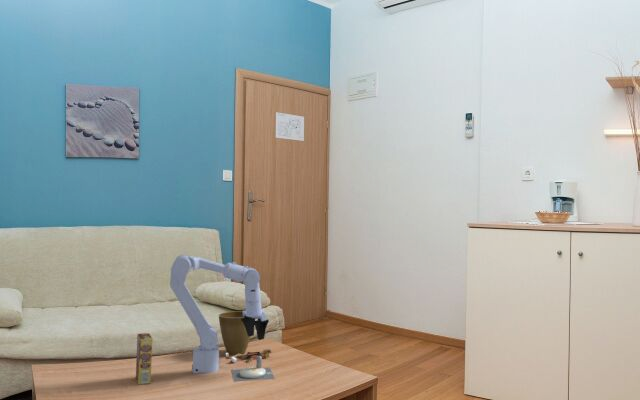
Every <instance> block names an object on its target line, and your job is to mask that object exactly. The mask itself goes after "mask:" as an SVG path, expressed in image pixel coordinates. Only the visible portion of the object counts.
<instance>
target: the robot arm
mask: <svg viewBox="0 0 640 400" xmlns="http://www.w3.org/2000/svg"><path fill="white" fill-rule="evenodd" d="M200 269H203V270H207V271H211V272H212V271H213V272H217V273H221V274H222V275H223V277H224V278H225V279H228V280H233V281H236V282H240V283H242V282H244V298H245V310H242V312H243V316H245V317H244V318H241V321H242V322H243V324H244V326H245V328H246V331H247V334H248V336H249V337H250V336H251V337H252V336H255V330H256V336H257V339H258V341H261V340H264V339H265V336H266V330H267V327H268V324H269V321H270V320H269V319H268V318H267V314H265V311H264V310H262V308H263V307H262V298H261V297H262V296H261V287H260V285H261V284H260V280H261V276H260V273H259V272H258V271H257V270H256V269H255V268H254V267H249V266H248V265H246V266H243V265H239V264H237V262H235V261H232V262H227V263H226V264H223V263H220V262H216V261H214V260H209V259H207V258H203V257H199V256H197V255H196V256H195V255H190V256H189V255H188V254H180V255H178V256H176V258H175V260H174V261H173V263H172V265H171V268H170V278H169V279H170V281H169V285H170V289H171V290H172V292H173V293H174V295H175V296H176V298H177V300H178V302H179V303H180V305H181V306H182V308H183V310H184V312H185V313H186V315H187V316H188V319H189V320H190V321H191V323H192V325H193V327H194V329H195V331H196V334H197V335H198V337H199V343H200V344H199V346H198V348H193V351H192V365H191V370H192V374H211V373H216V372H218V371H219V365H220V363H219V362H220V345H219V344H218V342H219V338H218V337H219V335H218V330H217V329H216V328H215V327H214V326H212V325H211V324H210V323H209V321H208V319H206V317H205V315H204V314H203V312H202V310H201V309H200V307H199V305H198V303H197V302H196V300H195V299H194V297H193V295H192V293H191V292H190V290H189V289H188V287H187V285H186V283H185V281H186V279H187V275H188V274H189V272H191V270H192V271H196V270H200ZM251 337H250V338H251Z"/></svg>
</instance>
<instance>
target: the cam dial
mask: <svg viewBox="0 0 640 400" xmlns="http://www.w3.org/2000/svg"><path fill="white" fill-rule="evenodd" d="M262 363H263V361H262V356H257V359H256V366H249V367H244V368H240V369H241V370H240V376H241V377H244V378H260V377H263V376H265V374H266V370H265V369H264V368H265V367H262Z"/></svg>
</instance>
